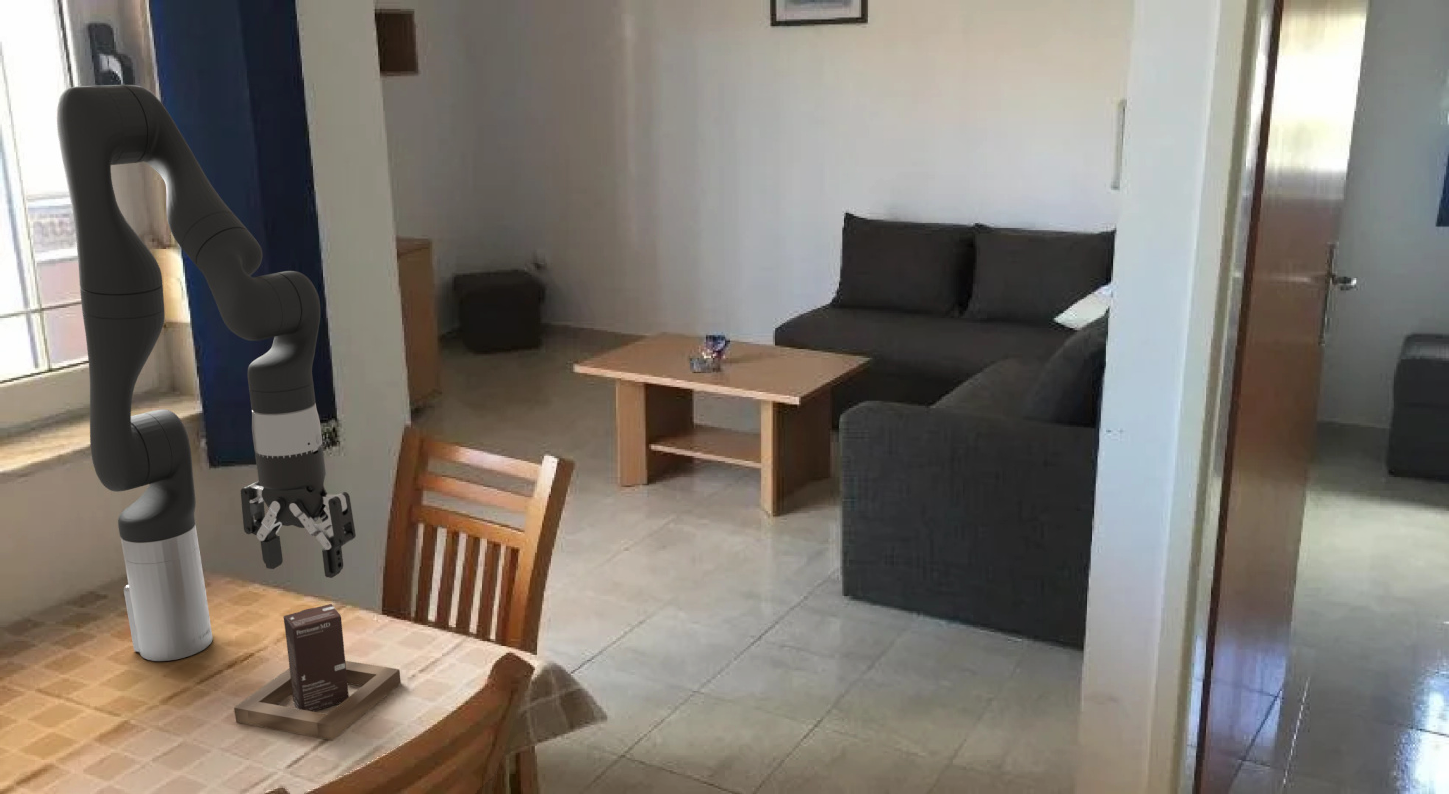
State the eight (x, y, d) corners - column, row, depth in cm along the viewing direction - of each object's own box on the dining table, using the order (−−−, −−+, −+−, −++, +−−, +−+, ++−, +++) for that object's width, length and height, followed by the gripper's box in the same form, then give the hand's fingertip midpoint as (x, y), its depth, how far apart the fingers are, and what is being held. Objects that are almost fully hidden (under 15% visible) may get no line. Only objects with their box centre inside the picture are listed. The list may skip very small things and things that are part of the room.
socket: (235, 722, 143) (233, 707, 143) (309, 668, 156) (308, 654, 156) (332, 740, 139) (331, 725, 138) (400, 683, 152) (399, 669, 151)
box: (303, 717, 144) (291, 627, 141) (293, 702, 148) (281, 614, 144) (352, 702, 147) (341, 614, 144) (341, 687, 151) (330, 601, 148)
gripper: (216, 447, 137) (234, 576, 142) (319, 458, 133) (334, 591, 137) (260, 429, 144) (276, 552, 148) (359, 439, 140) (372, 565, 144)
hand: (304, 570), depth 143 cm, fingers open, 8 cm apart
